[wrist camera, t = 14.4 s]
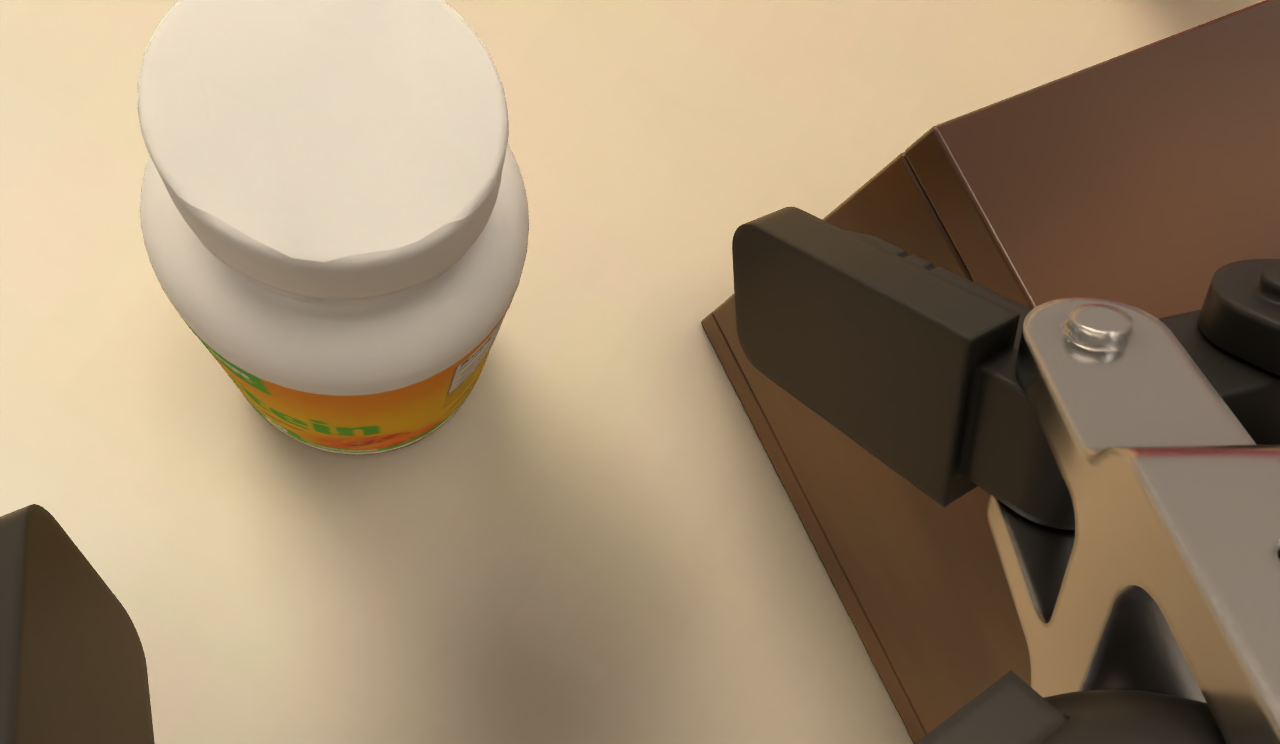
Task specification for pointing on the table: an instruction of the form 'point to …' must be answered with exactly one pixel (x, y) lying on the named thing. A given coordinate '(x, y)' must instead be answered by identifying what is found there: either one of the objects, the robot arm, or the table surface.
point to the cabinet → (1030, 275)
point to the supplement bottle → (333, 207)
